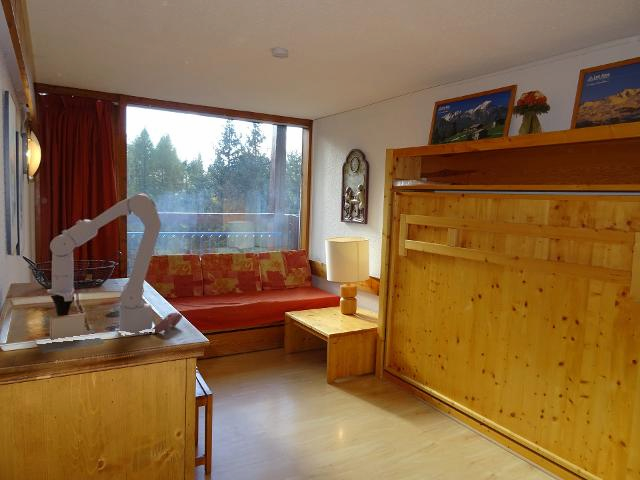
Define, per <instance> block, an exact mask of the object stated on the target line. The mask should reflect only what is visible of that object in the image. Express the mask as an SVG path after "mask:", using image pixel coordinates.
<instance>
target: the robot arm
mask: <svg viewBox="0 0 640 480" xmlns="http://www.w3.org/2000/svg"><path fill="white" fill-rule="evenodd" d="M131 214H133V215H135V217H138V218H139V220H140V221H141V222H142V225H143V226H144V230H143V234H142V236H141V240H140V243H139V247H138V250H137V252H136V256H135V259H134V262H133V265H132V269H131V272H130V274H129V275H130V276H129V278H128V281H127V283H125V285H124V286H123V288H122V292H121V293H120V299H119V300H120V303H119V323H118V325H119V326H118V327H117V328H114V330H115V332H117V330H119V331H126V332H130V333H135V334H133V335H125V336H122V337H123V338H124V337H131V336H136V335H146V334H148V335H149V333H148V332H144V333H140V332H139V331H142V330H145V329H151V328H152V329H153V316H154V315H153V313H154V312H153V307H152V305H151V303H147V302H146V303H145V301H143V295H144V293H145V289H144V288H145V287H144V284H145V279H146V277H147V273H148V270H149V266H150V264H151V260H152V258H153V254H154V251H155V247H156V243H157V240H158V238H159V233H160V231H161V227H162V221H161V217H160V214H159V212H158V209H157V206H156V203H155V202H154V200H153V199H152V198H151V197H150V196H149V195H148V194H146V193H144V192H143V193H142V192H139V193H137V194H134V195H133V196H132V197H127V198H126V199H124V200H121V201H119V202H117V203H115V204H114V205H113V206H111V207H110V208H108V209H106V210H105V211H104V212H102V213H101V214H99V215H98V216H96V217H95V218H93V219H92V220H91V219H83V220H82V219H79V220H78V221H76V222H75V225H73V226H72V227H70V228H69V229H64V230H61V233H62V234H59V235H57V236H55V237H54V238H53V239H52V240H51V241H50V245H49V249H50V251H51V254H52V255H51V258H52V260H51V289H46V292H47V293H48V294H53V295H51V296H50V298H51V299H52V302H53V304H54V307H55V311H56V315H57V316H64V315H69V312H70V308H71V305H72V303H73V302H74V300H75V296H73V293H74V292H75V288H74V276H75V273H74V271H75V270H74V269H75V268H74V267H75V265H74V263H75V262H74V250H75V248H76V247H77V248H78V247H80V246H82V245H84V244H85V243H86V242H88V241H90V240H92V239H93V238H94V237H97V235H98V231H99V229H100V228H101V227H103V226H105V225H107V224H108V223H110V222H112V221H113V220H115V219H117V218H118V217H120V216H128V215H131Z"/></svg>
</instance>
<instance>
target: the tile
mask: <svg viewBox="0 0 640 480" xmlns="http://www.w3.org/2000/svg"><path fill="white" fill-rule="evenodd" d="M85 331H86V314H85V313H84V312H83V313H72V314H68V315H64V316H49V336H50V339H51V340H54V339H58V338H65V337H73V336H80V335H85Z"/></svg>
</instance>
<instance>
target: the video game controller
mask: <svg viewBox="0 0 640 480" xmlns="http://www.w3.org/2000/svg"><path fill="white" fill-rule="evenodd" d="M182 319H183V315H182V314H181V313H178V312H177V311H175V312H172V313H171V312H170V313H168V314H167V316H165V317H164V318H163V319H162V320H161V321H160V322H159V323H157V324H156V325H154V326H153V327H152V330H153V329H155V333H154V334H160V333H161V332H166V333H167V332H169V331H170V329H171V330H173V329H174V328H176V326H177V325H178V324H179V322H181V320H182Z"/></svg>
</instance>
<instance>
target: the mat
mask: <svg viewBox="0 0 640 480" xmlns="http://www.w3.org/2000/svg"><path fill="white" fill-rule="evenodd" d="M89 333H96V332H95V331H94V330H93V329H91V330H85V334H89ZM43 338H50V335H49V336H42V337H33V340H34V339H43ZM102 344H103V345H104V344H106V342H105V341H104V340H103V339H102V338H101V337H100V338H95V339H85V340H73V341H63V342H52V343H46V344H36V345H37V347H38V349H39V350H40V352H41V353H42V354H47V353H53V352H59V351H60V352H61V351H65V350H66V351H67V350H72V349H79V348H83V347H91V346H96V345H102Z"/></svg>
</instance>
